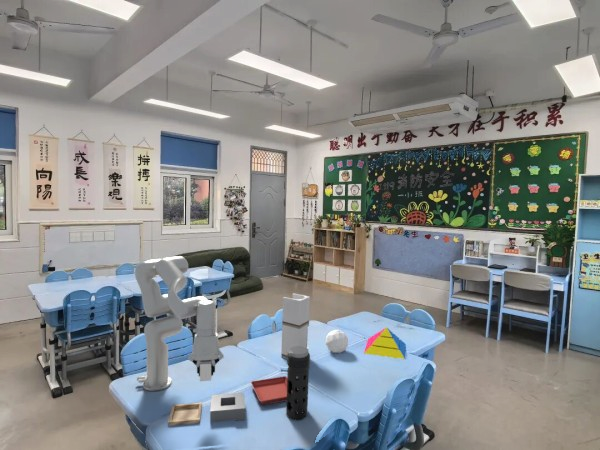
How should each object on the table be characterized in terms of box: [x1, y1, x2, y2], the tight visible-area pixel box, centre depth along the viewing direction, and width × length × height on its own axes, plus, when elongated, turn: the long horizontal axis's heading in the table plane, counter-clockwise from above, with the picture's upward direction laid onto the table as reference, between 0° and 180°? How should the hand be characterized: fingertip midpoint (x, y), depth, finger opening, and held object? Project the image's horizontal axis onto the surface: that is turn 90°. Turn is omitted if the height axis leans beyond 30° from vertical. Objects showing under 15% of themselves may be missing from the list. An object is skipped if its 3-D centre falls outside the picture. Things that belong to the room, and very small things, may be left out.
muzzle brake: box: [285, 346, 311, 421], centre depth 152 cm, size 10×28×10 cm
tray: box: [167, 401, 203, 427], centre depth 148 cm, size 12×12×2 cm
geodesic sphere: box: [325, 329, 349, 354], centre depth 215 cm, size 14×14×14 cm
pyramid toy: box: [363, 327, 406, 360], centre depth 222 cm, size 25×25×14 cm
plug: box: [199, 360, 213, 382], centre depth 148 cm, size 4×4×8 cm
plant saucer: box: [250, 375, 292, 406], centre depth 168 cm, size 18×18×3 cm
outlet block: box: [209, 392, 246, 423], centre depth 151 cm, size 14×12×5 cm
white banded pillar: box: [280, 292, 311, 360], centre depth 206 cm, size 11×11×35 cm
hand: (206, 373), depth 148 cm, fingers closed on plug, 4 cm apart
